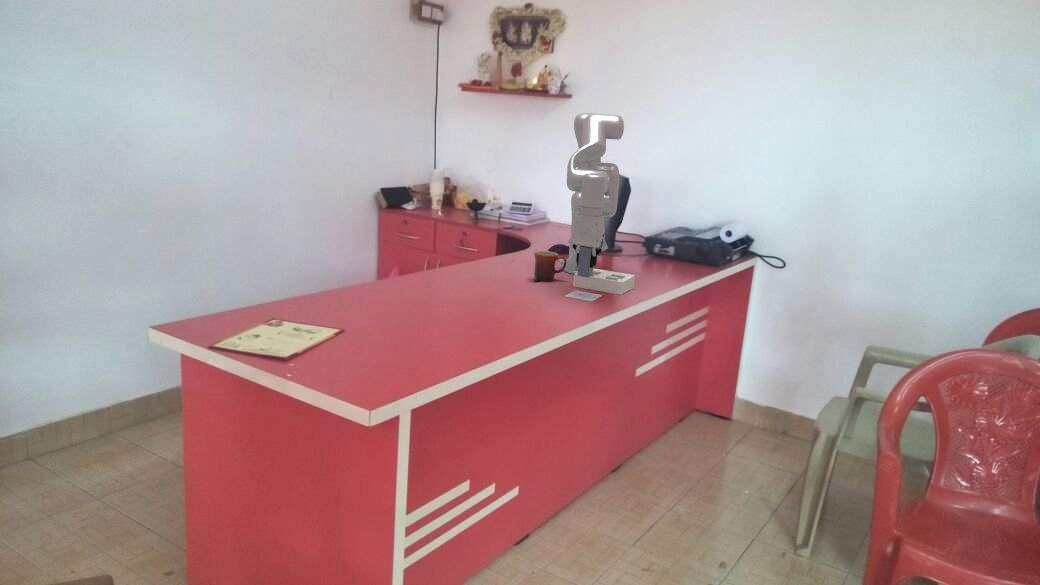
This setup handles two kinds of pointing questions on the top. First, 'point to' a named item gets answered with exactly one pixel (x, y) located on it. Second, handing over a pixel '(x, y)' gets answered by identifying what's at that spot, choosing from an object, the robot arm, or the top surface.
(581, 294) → the mat
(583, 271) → the dark grey rectangular prism
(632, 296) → the top surface
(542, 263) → the mug
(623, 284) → the socket block
